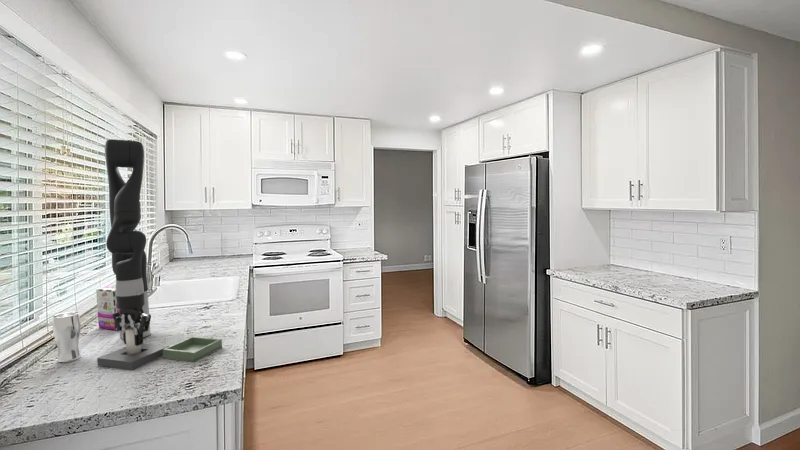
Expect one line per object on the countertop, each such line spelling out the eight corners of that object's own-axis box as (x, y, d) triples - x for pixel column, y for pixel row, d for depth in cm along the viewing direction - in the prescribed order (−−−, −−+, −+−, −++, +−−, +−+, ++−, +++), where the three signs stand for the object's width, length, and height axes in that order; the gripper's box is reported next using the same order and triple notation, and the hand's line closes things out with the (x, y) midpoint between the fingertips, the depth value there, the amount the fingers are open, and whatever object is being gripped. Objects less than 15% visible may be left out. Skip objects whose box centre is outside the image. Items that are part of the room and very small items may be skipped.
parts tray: (163, 358, 133) (162, 349, 133) (192, 344, 145) (192, 336, 145) (194, 361, 130) (194, 352, 130) (222, 347, 142) (221, 339, 142)
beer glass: (52, 364, 130) (49, 318, 128) (59, 357, 136) (55, 313, 135) (80, 360, 133) (76, 315, 132) (84, 353, 139) (81, 310, 138)
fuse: (123, 356, 132) (122, 329, 131) (135, 352, 136) (133, 325, 135) (133, 358, 131) (131, 330, 130) (144, 353, 134) (142, 326, 134)
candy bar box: (128, 327, 167) (125, 288, 166) (116, 331, 162) (113, 290, 161) (110, 324, 171) (108, 286, 170) (98, 328, 166) (95, 288, 165)
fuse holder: (97, 365, 128) (97, 358, 128) (137, 349, 142) (136, 342, 141) (132, 370, 124) (131, 362, 124) (169, 353, 138) (169, 345, 138)
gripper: (102, 294, 130) (106, 346, 131) (136, 296, 126) (140, 350, 127) (124, 288, 137) (127, 338, 138) (157, 291, 133) (160, 342, 134)
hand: (133, 343), depth 133 cm, fingers closed on fuse, 4 cm apart
